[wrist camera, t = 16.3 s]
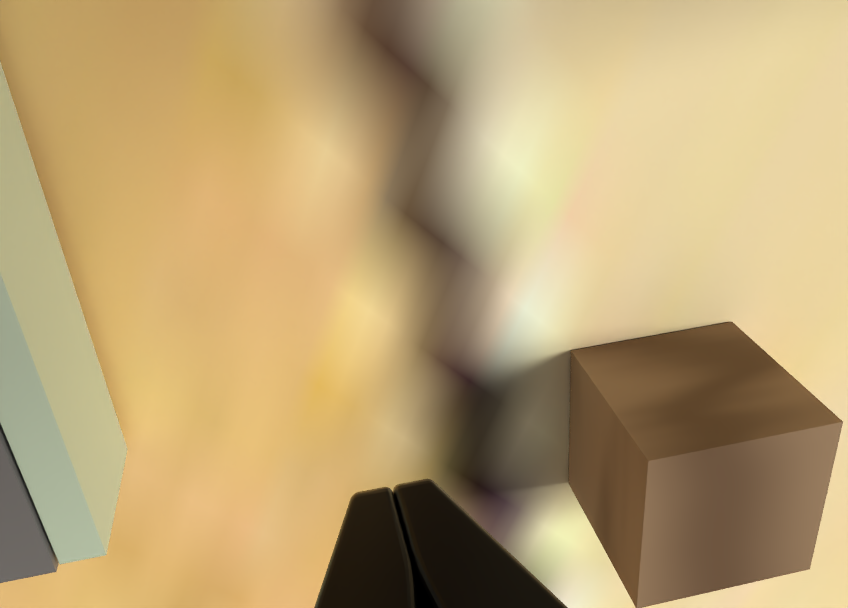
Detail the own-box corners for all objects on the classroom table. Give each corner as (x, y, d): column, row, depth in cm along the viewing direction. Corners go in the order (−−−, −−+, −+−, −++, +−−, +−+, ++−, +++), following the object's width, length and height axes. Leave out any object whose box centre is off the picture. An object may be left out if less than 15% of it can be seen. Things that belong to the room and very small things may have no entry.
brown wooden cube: (731, 321, 23) (843, 421, 19) (714, 453, 26) (809, 569, 22) (570, 350, 23) (648, 461, 18) (568, 483, 25) (636, 608, 21)
